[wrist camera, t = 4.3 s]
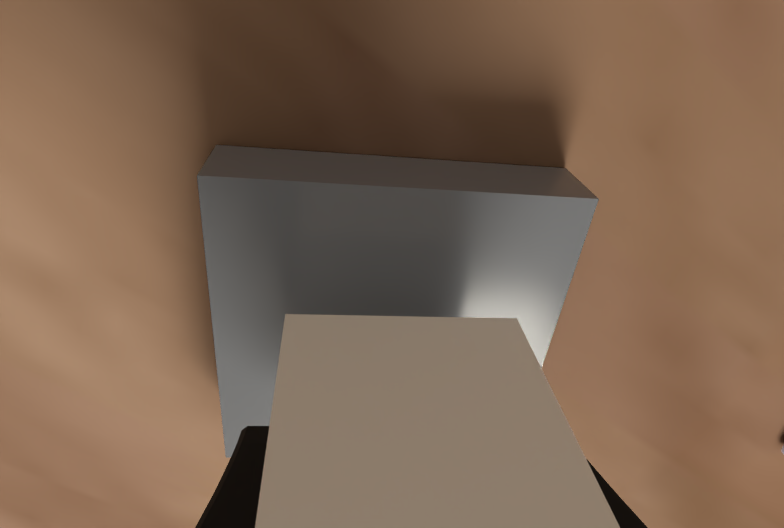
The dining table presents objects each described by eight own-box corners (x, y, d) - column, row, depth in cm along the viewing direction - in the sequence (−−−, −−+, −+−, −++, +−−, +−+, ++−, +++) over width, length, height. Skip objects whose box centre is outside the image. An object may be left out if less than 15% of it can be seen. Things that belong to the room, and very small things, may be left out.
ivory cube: (517, 318, 11) (628, 544, 7) (475, 465, 14) (538, 695, 9) (285, 314, 10) (249, 560, 6) (288, 468, 13) (264, 718, 9)
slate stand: (565, 168, 13) (598, 198, 12) (496, 406, 18) (512, 453, 16) (216, 145, 12) (197, 175, 11) (236, 406, 17) (226, 457, 15)
